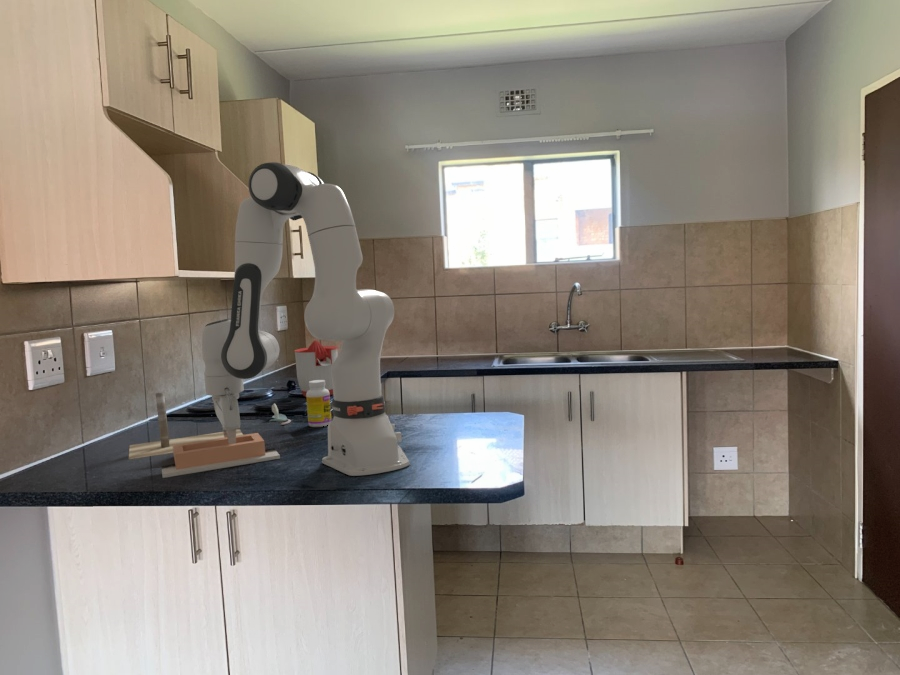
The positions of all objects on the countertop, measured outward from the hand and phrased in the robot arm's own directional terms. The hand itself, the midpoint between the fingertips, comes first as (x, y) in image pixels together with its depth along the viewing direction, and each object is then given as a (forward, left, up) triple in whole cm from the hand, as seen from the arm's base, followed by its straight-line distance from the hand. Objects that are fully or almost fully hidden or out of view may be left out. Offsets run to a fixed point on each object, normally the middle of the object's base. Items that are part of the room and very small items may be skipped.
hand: (229, 440), depth 168 cm
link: (-4, +3, -3) cm, 6 cm away
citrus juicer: (+68, -39, -4) cm, 78 cm away
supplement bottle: (+19, -27, -4) cm, 33 cm away
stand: (+14, +9, -4) cm, 17 cm away
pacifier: (+29, -17, -4) cm, 34 cm away
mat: (-4, +3, -4) cm, 6 cm away
